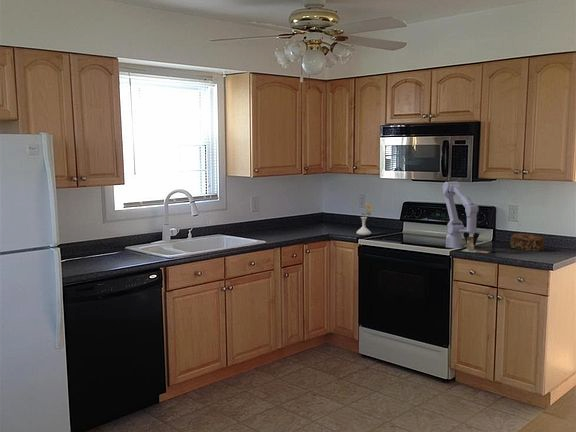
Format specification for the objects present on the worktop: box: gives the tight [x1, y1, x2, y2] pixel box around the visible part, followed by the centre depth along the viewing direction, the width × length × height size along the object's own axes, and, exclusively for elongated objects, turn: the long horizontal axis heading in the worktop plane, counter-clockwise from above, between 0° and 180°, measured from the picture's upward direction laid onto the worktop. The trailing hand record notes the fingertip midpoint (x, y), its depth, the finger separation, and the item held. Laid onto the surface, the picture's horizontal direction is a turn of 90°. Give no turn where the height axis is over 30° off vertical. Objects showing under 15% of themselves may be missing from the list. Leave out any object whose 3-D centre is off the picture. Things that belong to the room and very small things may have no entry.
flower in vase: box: [356, 202, 374, 236], centre depth 427 cm, size 13×11×25 cm
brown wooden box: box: [466, 236, 475, 250], centre depth 354 cm, size 4×2×8 cm, turn 52°
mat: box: [461, 248, 481, 253], centre depth 355 cm, size 9×9×1 cm
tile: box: [477, 249, 491, 254], centre depth 350 cm, size 6×1×7 cm
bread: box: [510, 232, 546, 252], centre depth 362 cm, size 19×11×10 cm, turn 44°
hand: (470, 244), depth 354 cm, fingers closed on brown wooden box, 4 cm apart
